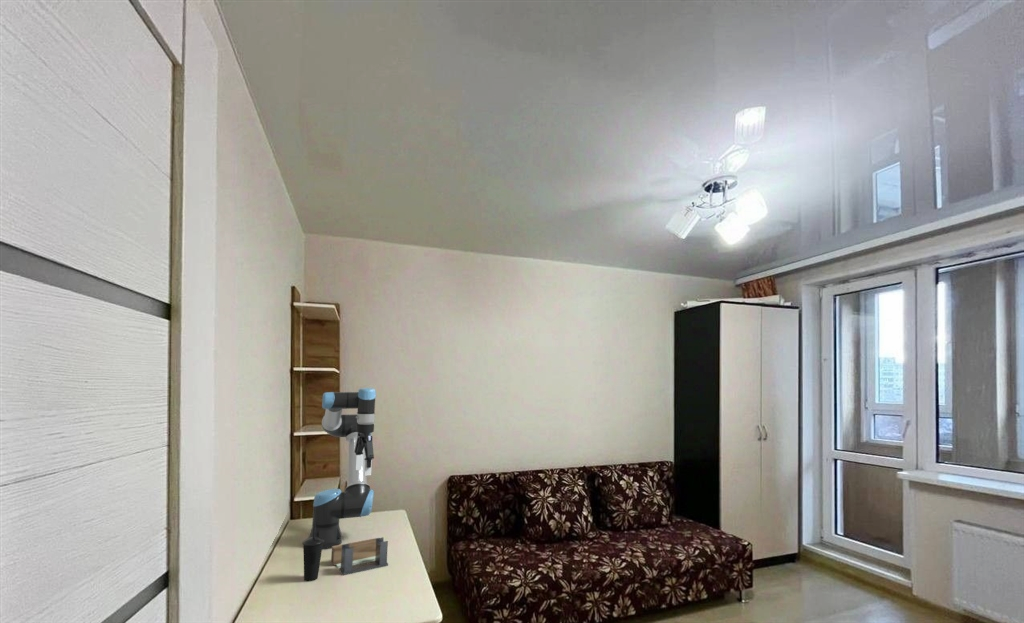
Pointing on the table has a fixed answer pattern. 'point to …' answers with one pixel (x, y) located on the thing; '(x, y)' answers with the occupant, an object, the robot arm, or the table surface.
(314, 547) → the drinking cup
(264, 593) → the table surface
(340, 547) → the rail
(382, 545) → the rack
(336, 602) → the table surface
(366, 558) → the mat
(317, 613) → the table surface
